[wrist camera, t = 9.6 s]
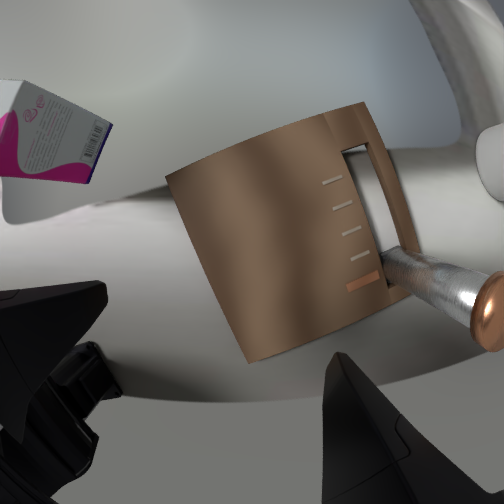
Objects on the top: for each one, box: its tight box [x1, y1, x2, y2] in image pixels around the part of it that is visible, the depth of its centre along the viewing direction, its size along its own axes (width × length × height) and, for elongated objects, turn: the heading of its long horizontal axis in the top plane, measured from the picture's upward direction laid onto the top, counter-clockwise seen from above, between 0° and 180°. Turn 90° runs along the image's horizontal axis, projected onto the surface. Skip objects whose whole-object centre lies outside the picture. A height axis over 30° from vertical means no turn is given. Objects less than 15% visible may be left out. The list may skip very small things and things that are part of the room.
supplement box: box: [0, 79, 113, 184], centre depth 15 cm, size 6×6×12 cm
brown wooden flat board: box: [165, 102, 420, 364], centre depth 20 cm, size 16×16×1 cm
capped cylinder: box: [379, 246, 504, 352], centre depth 15 cm, size 4×4×13 cm
